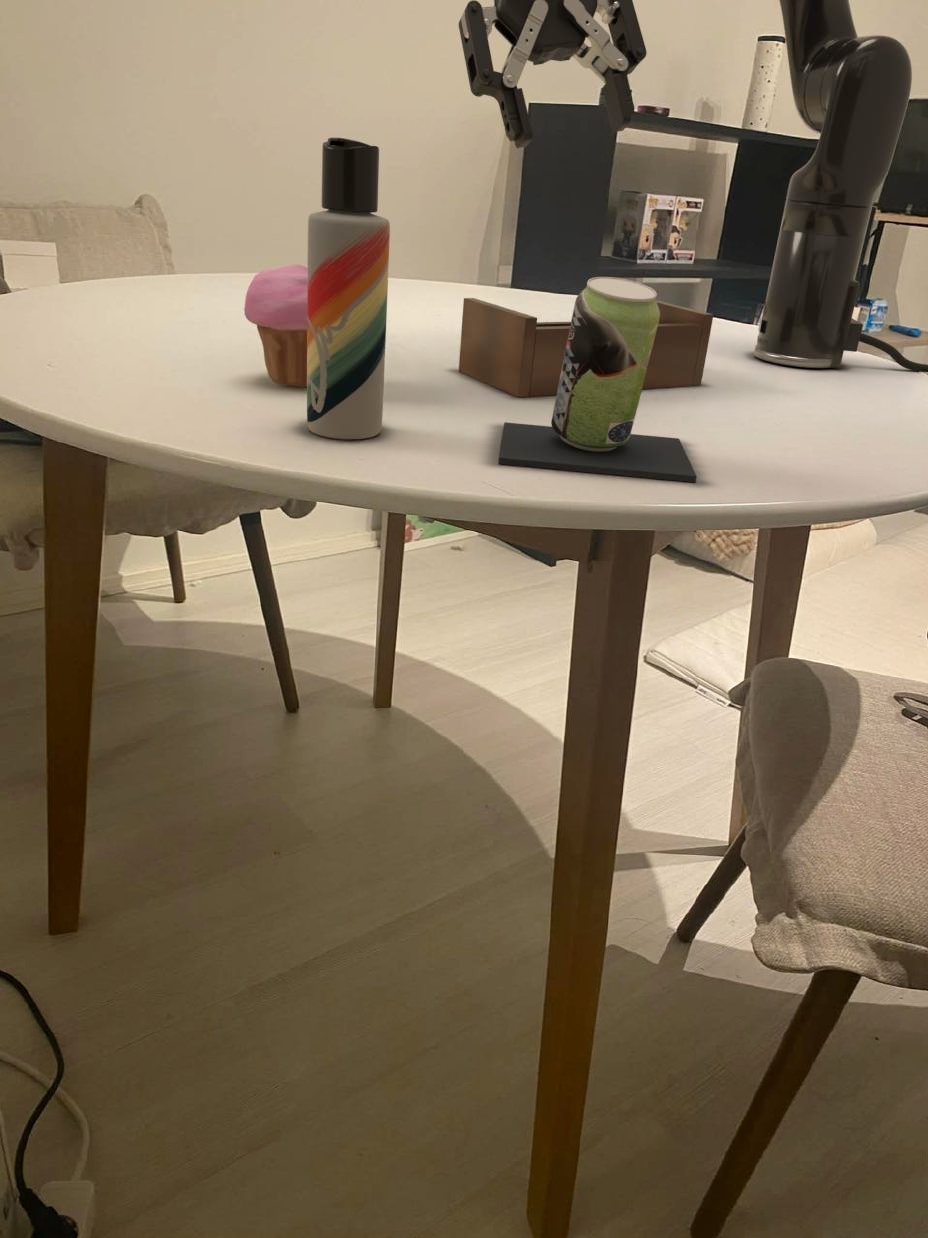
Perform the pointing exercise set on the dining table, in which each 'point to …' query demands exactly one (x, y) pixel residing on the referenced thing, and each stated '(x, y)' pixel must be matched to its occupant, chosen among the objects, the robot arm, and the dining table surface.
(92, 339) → the dining table surface
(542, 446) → the mat
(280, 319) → the cupcake
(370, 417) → the lotion bottle
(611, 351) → the beverage can
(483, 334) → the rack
